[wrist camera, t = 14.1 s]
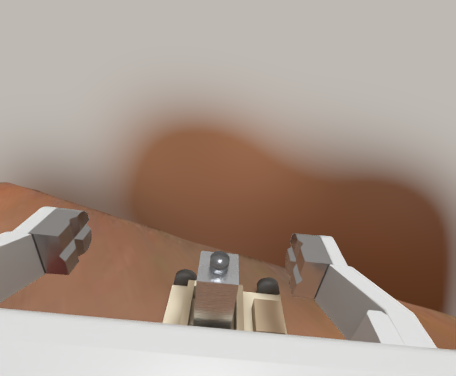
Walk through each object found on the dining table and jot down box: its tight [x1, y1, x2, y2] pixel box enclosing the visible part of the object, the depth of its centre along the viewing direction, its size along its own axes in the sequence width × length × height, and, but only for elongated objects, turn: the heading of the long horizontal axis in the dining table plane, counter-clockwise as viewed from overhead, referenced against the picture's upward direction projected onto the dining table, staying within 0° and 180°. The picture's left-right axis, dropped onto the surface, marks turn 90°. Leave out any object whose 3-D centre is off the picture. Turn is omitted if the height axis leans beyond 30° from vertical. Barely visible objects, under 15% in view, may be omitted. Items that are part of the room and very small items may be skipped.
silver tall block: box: [193, 251, 239, 329], centre depth 34 cm, size 5×5×12 cm
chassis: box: [163, 269, 287, 335], centre depth 37 cm, size 18×14×4 cm
